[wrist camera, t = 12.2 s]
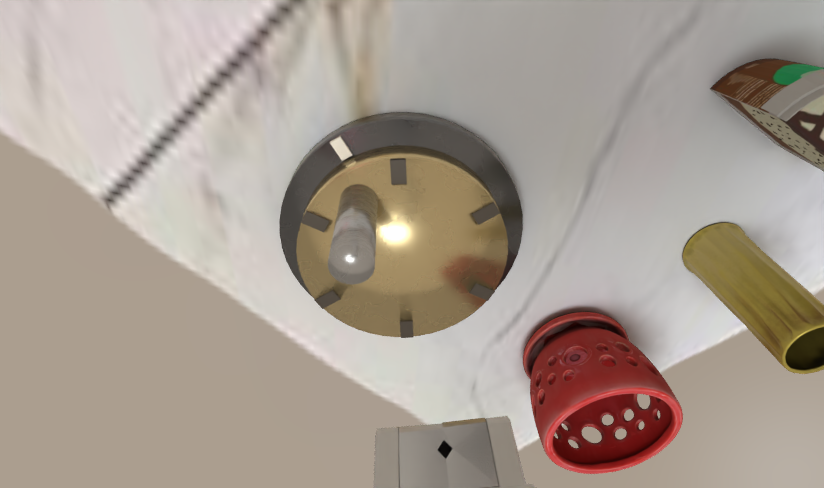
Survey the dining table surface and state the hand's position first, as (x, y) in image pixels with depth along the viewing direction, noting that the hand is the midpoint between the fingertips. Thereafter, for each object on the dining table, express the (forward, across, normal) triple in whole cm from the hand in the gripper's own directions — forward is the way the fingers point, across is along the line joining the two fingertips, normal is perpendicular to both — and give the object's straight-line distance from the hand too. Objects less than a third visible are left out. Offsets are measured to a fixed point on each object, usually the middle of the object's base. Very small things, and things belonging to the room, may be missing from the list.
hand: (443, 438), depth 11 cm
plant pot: (+33, -16, +31) cm, 48 cm away
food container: (+33, -30, +4) cm, 45 cm away
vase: (+33, -29, +20) cm, 48 cm away
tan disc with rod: (+31, +2, +13) cm, 34 cm away
